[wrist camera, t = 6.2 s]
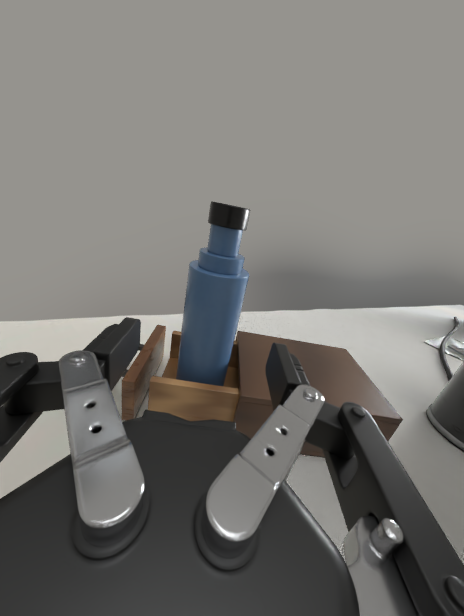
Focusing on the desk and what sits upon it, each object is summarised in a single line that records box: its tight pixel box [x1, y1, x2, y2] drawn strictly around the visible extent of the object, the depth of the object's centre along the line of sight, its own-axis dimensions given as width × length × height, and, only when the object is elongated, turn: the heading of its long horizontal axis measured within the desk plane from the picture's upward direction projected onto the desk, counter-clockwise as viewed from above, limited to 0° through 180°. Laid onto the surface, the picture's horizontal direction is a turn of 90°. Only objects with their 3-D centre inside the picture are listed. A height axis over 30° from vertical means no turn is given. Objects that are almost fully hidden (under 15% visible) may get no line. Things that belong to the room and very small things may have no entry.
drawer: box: [122, 325, 239, 422], centre depth 28 cm, size 20×11×5 cm, turn 90°
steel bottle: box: [176, 202, 250, 386], centre depth 25 cm, size 6×6×21 cm
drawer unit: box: [232, 331, 403, 457], centre depth 29 cm, size 16×12×7 cm
